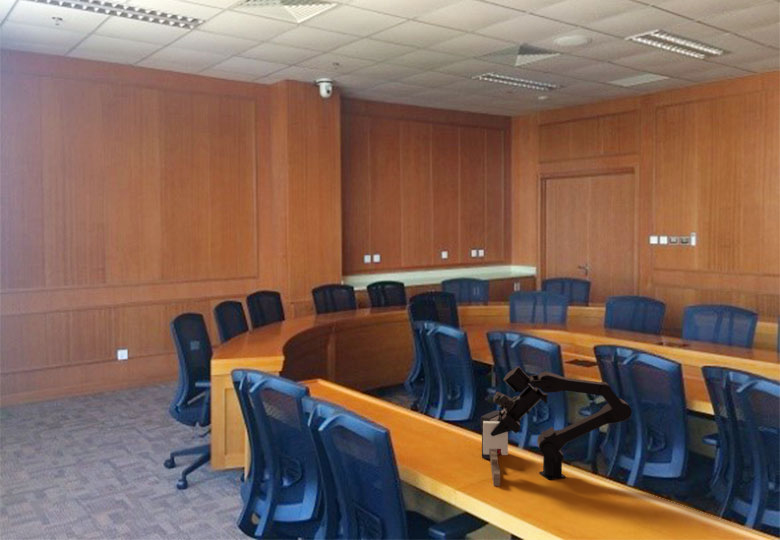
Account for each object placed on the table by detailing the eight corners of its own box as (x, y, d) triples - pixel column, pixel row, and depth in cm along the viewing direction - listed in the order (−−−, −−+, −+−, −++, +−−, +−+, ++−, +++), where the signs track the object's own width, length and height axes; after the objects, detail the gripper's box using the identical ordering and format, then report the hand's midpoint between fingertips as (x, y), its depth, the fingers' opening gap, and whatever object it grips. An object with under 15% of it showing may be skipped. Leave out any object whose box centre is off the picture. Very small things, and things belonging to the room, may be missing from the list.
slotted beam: (490, 461, 233) (490, 450, 232) (496, 462, 233) (496, 450, 232) (493, 485, 211) (493, 473, 211) (500, 486, 211) (500, 473, 210)
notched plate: (507, 452, 222) (507, 421, 221) (507, 455, 220) (507, 423, 219) (483, 451, 223) (483, 420, 222) (483, 454, 220) (483, 423, 220)
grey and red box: (490, 460, 234) (491, 418, 233) (480, 458, 237) (480, 416, 236) (505, 452, 243) (505, 411, 242) (494, 449, 245) (495, 410, 245)
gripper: (505, 378, 229) (473, 409, 231) (510, 391, 210) (474, 424, 212) (528, 401, 228) (496, 432, 230) (535, 416, 210) (499, 449, 212)
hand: (491, 433), depth 221 cm, fingers closed on notched plate, 2 cm apart
